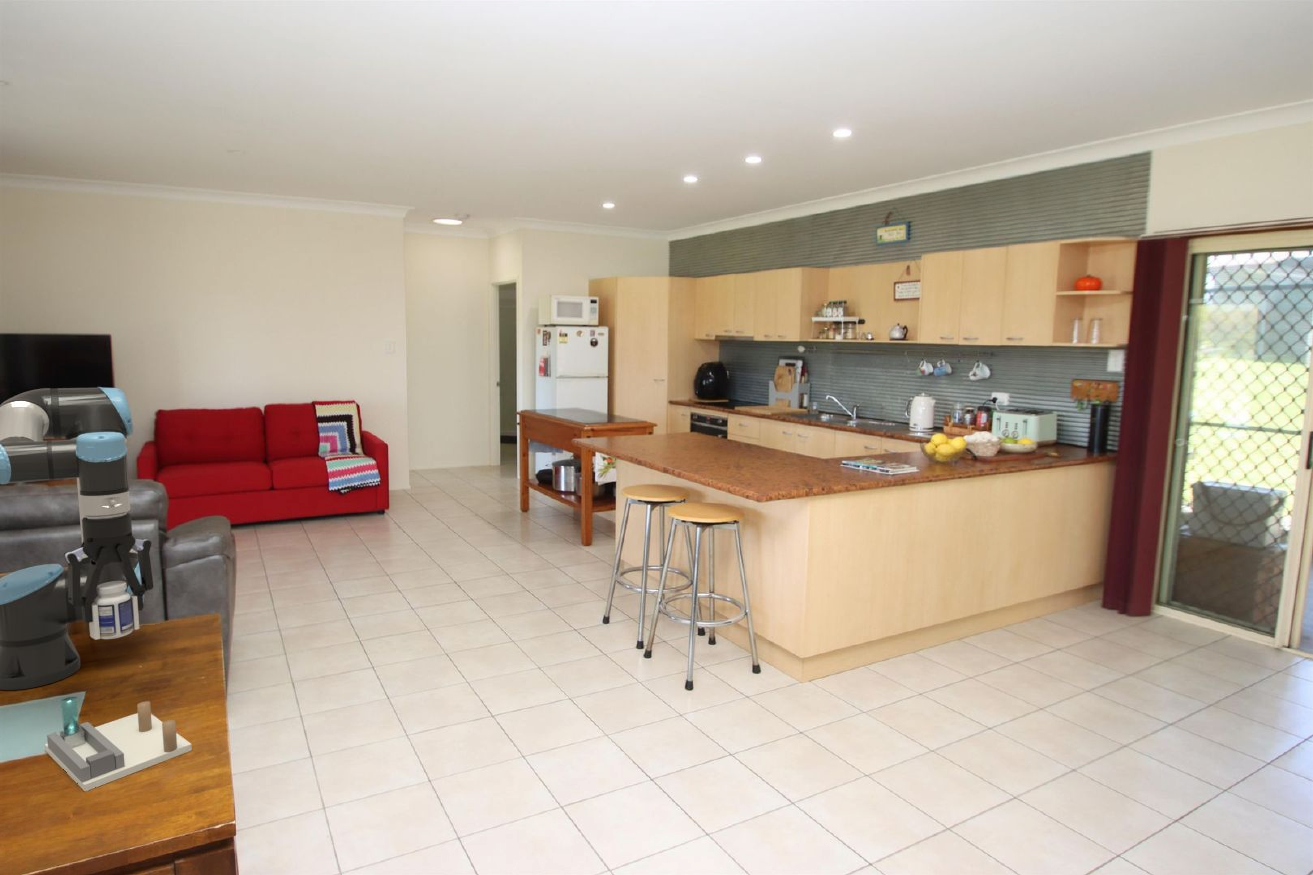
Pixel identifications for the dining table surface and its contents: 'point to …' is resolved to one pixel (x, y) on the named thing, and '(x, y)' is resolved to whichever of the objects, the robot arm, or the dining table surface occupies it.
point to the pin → (71, 723)
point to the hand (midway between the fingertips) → (115, 632)
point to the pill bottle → (114, 610)
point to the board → (118, 748)
